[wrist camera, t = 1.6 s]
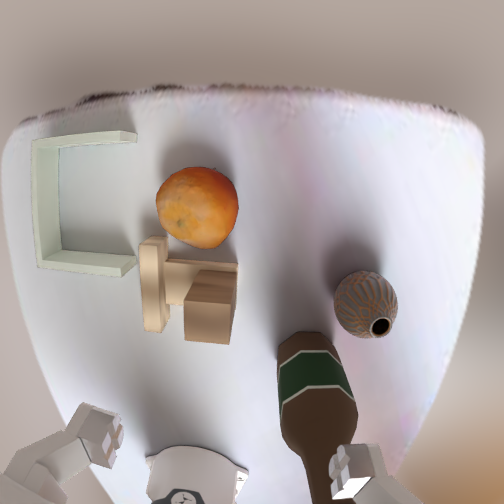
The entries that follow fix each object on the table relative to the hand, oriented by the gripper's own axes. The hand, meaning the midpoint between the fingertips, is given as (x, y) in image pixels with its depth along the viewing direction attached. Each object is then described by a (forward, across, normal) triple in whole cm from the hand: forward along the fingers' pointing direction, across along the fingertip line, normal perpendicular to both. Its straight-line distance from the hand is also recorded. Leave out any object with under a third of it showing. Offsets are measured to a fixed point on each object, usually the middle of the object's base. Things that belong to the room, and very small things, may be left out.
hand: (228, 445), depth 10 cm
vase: (+26, +13, -5) cm, 29 cm away
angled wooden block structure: (+25, -6, -7) cm, 27 cm away
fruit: (+26, -6, +2) cm, 27 cm away
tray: (+26, -20, +1) cm, 32 cm away
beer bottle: (+25, +9, -14) cm, 30 cm away
